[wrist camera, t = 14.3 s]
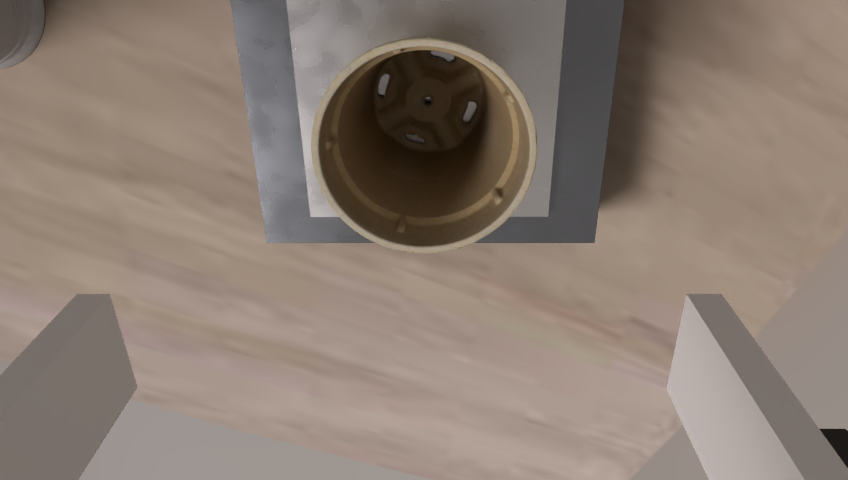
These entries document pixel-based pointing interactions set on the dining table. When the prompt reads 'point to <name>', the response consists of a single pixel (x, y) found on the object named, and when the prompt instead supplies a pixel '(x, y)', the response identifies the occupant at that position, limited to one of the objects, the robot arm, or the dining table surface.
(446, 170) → the flower pot
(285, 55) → the gray square platform
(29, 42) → the grey pitcher
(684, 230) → the dining table surface
